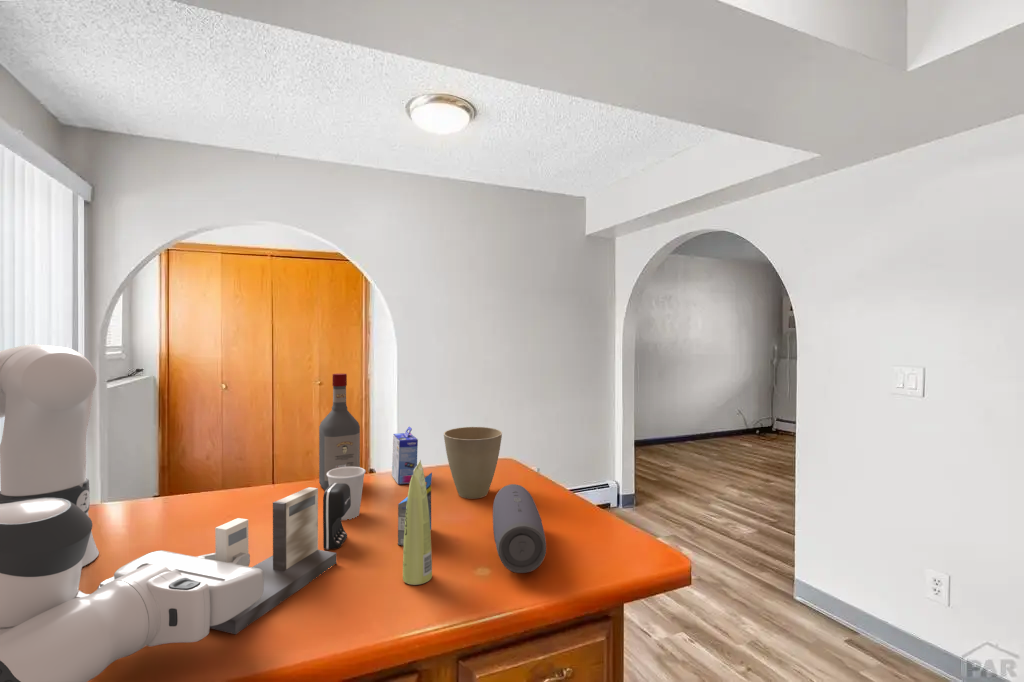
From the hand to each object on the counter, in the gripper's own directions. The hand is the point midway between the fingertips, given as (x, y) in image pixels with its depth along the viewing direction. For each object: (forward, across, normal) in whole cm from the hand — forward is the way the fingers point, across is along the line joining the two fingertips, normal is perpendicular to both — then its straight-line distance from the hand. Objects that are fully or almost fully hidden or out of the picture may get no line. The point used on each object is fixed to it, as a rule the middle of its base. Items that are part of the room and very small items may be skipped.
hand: (237, 556), depth 76 cm
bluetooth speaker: (+32, +34, -8) cm, 48 cm away
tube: (+17, +21, -8) cm, 29 cm away
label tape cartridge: (+32, +13, -8) cm, 35 cm away
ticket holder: (+6, 0, -8) cm, 10 cm away
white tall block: (-1, 0, -6) cm, 6 cm away
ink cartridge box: (+65, -9, -8) cm, 66 cm away
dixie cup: (+37, -8, -8) cm, 39 cm away
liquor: (+54, -22, -8) cm, 59 cm away
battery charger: (+24, 0, -8) cm, 26 cm away
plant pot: (+60, +14, -8) cm, 62 cm away
